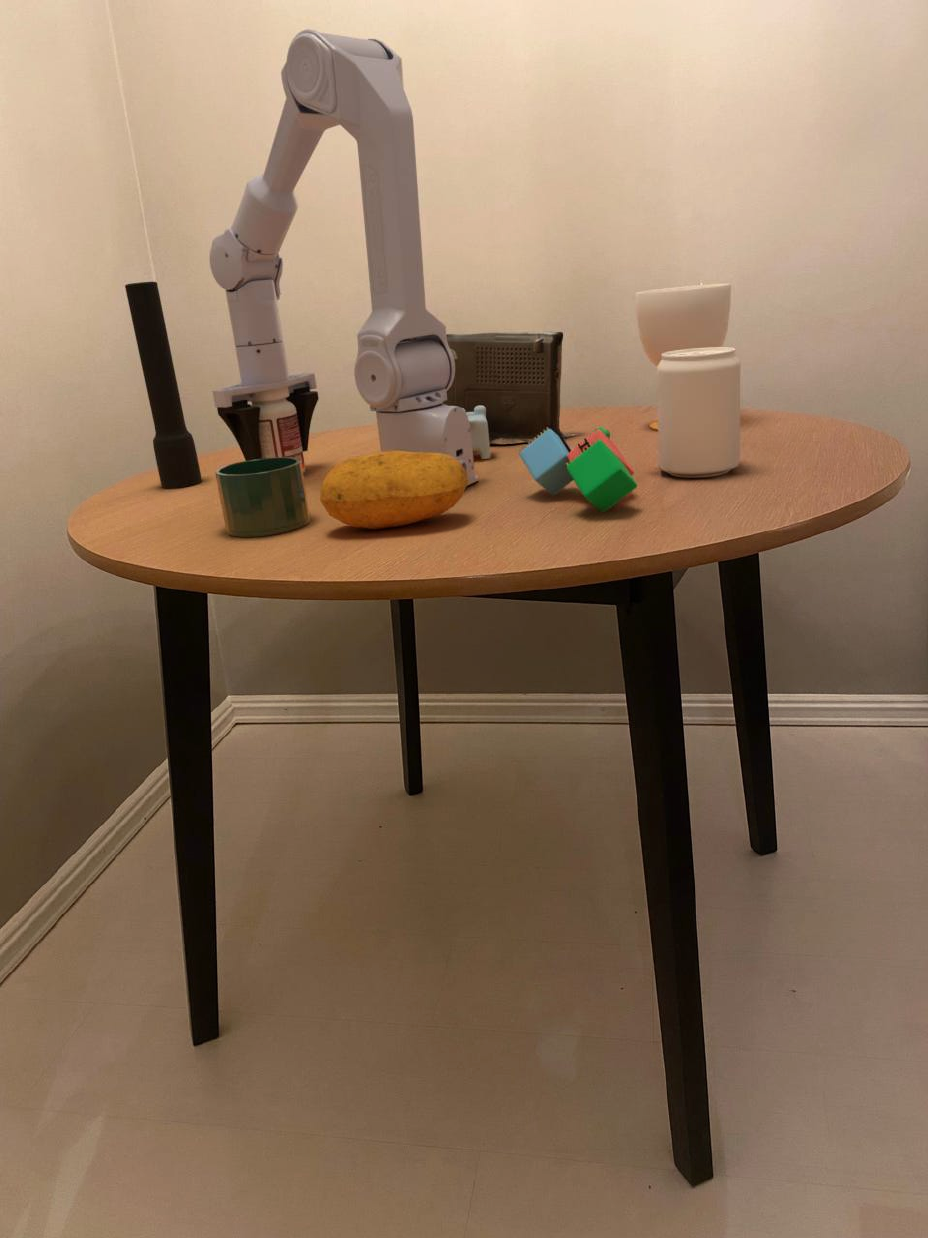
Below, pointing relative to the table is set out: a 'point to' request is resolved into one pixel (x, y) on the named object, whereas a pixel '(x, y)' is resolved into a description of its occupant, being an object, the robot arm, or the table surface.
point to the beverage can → (699, 411)
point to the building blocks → (580, 466)
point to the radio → (509, 382)
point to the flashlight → (162, 389)
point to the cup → (682, 319)
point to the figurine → (479, 431)
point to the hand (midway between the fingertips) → (277, 457)
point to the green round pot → (263, 496)
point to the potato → (392, 488)
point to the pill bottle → (278, 425)
